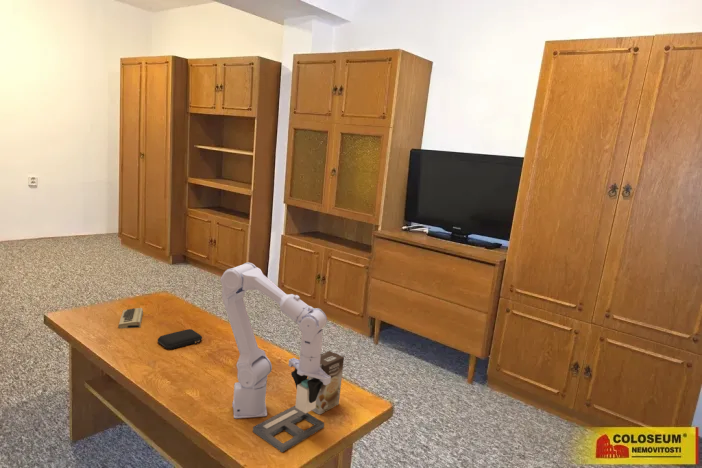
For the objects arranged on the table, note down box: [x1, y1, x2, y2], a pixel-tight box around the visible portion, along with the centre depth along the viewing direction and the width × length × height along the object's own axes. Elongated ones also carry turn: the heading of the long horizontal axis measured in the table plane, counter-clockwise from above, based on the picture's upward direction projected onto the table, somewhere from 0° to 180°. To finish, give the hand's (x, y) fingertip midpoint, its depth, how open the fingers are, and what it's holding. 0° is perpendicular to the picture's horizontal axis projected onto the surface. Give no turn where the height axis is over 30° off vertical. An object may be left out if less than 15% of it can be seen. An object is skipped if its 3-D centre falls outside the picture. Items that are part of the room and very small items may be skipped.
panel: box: [252, 405, 325, 453], centre depth 130 cm, size 16×12×2 cm
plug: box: [294, 378, 316, 414], centre depth 130 cm, size 4×4×8 cm
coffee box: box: [307, 350, 345, 415], centre depth 143 cm, size 9×6×16 cm
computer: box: [118, 307, 144, 329], centre depth 192 cm, size 16×8×3 cm, turn 20°
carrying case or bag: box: [157, 328, 203, 351], centre depth 177 cm, size 11×3×15 cm
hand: (306, 398), depth 131 cm, fingers closed on plug, 4 cm apart
